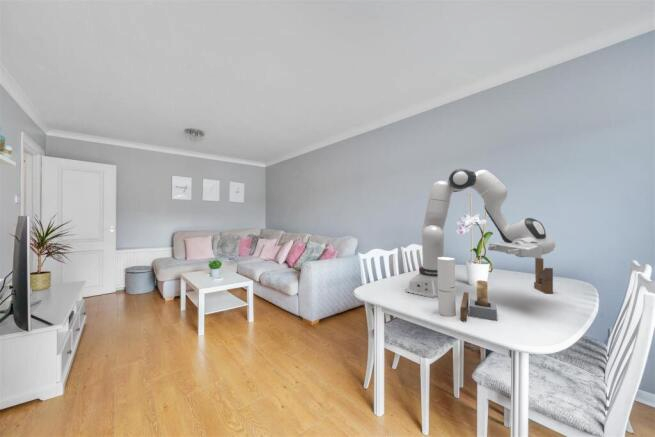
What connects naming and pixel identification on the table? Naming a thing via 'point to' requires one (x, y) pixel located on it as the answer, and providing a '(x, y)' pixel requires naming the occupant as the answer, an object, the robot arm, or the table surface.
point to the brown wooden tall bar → (482, 294)
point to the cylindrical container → (446, 286)
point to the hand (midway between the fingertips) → (498, 250)
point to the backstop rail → (464, 306)
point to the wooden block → (543, 277)
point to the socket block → (483, 310)
